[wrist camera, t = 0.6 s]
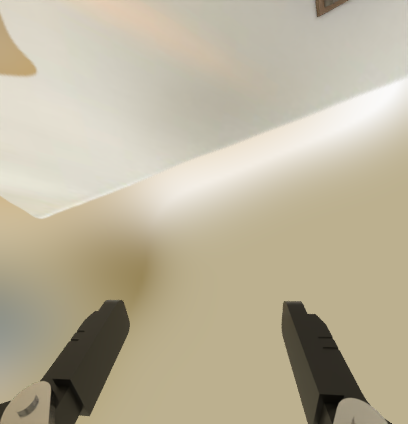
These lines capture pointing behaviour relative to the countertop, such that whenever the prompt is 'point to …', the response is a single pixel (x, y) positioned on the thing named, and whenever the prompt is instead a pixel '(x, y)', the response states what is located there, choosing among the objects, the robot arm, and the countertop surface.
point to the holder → (327, 5)
